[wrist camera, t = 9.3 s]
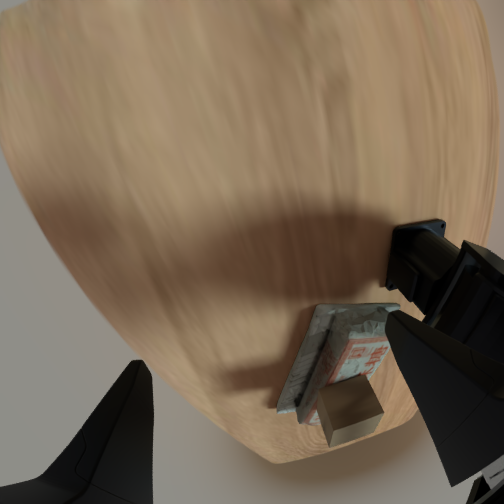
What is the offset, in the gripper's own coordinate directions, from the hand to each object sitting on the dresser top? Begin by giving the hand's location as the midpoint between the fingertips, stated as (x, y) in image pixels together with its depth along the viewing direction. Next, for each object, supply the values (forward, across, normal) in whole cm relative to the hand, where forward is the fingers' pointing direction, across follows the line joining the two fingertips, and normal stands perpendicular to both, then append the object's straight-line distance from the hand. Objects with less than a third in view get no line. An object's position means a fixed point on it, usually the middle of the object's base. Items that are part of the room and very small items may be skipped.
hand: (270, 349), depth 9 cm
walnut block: (+8, -7, +19) cm, 22 cm away
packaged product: (+13, -8, +19) cm, 24 cm away
